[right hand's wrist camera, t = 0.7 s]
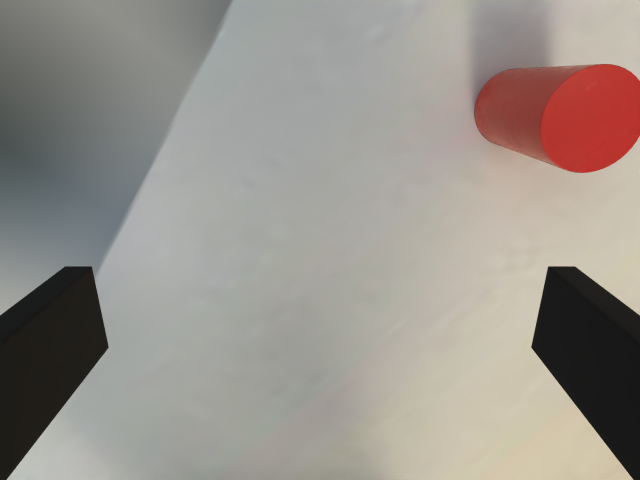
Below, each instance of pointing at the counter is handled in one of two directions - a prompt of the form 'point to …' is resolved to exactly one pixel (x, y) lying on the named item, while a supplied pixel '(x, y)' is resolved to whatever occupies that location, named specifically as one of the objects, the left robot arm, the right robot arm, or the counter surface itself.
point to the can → (563, 114)
